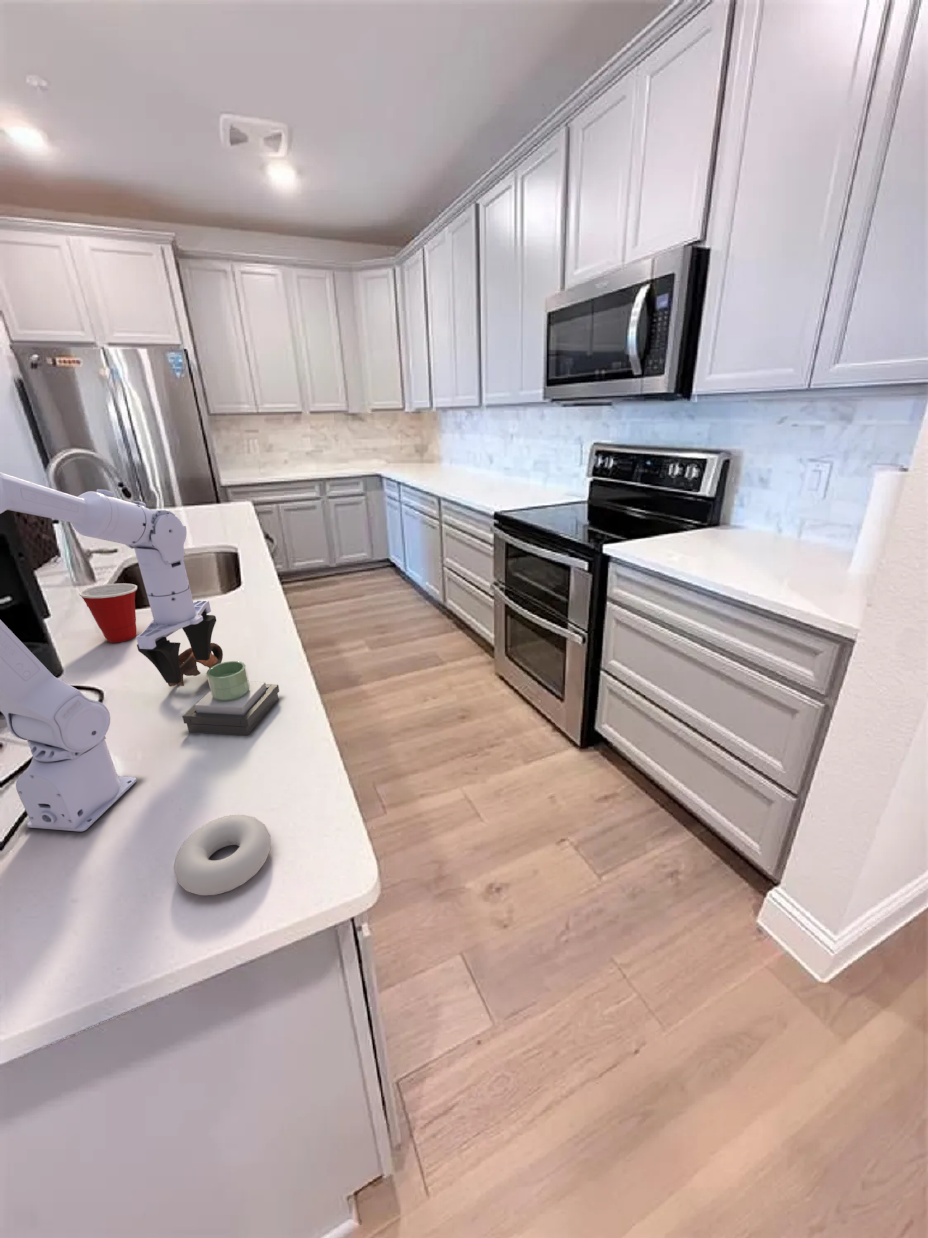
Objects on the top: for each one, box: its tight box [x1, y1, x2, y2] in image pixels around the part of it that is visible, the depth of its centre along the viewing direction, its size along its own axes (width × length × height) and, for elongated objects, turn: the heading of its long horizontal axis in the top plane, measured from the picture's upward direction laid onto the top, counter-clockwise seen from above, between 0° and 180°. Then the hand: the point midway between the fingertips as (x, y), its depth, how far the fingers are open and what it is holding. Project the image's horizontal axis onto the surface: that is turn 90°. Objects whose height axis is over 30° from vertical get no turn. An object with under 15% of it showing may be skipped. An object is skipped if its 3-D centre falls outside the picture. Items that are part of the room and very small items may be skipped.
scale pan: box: [194, 681, 267, 715], centre depth 85 cm, size 8×8×2 cm
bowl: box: [205, 660, 250, 701], centre depth 83 cm, size 6×6×4 cm
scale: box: [181, 683, 280, 736], centre depth 85 cm, size 11×11×3 cm
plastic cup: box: [78, 583, 138, 644], centre depth 114 cm, size 11×11×12 cm
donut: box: [173, 814, 271, 896], centre depth 57 cm, size 10×4×10 cm
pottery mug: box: [167, 642, 224, 687], centre depth 96 cm, size 12×10×8 cm
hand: (188, 670), depth 81 cm, fingers open, 7 cm apart
